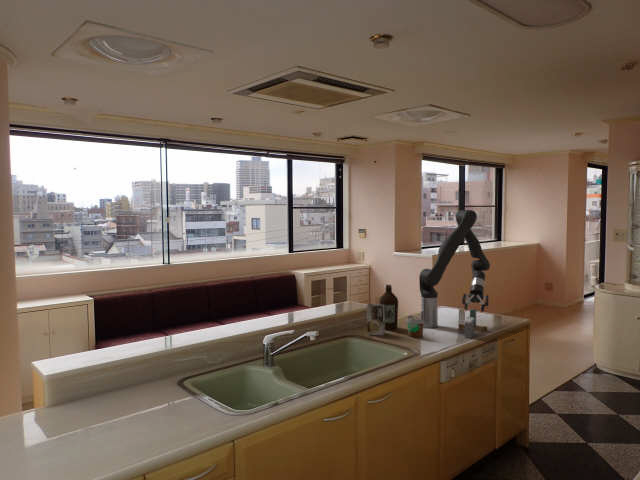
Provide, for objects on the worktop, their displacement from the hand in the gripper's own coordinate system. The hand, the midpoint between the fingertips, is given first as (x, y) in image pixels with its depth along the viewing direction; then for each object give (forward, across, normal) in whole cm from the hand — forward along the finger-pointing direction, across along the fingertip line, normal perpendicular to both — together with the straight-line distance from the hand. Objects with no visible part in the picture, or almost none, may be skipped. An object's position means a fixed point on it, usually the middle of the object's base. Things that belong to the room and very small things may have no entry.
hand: (474, 310), depth 272 cm
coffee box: (+30, -47, -16) cm, 58 cm away
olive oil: (+20, -44, -6) cm, 49 cm away
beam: (+9, 0, +5) cm, 11 cm away
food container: (+28, -27, -14) cm, 42 cm away
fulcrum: (+19, 0, -5) cm, 20 cm away
